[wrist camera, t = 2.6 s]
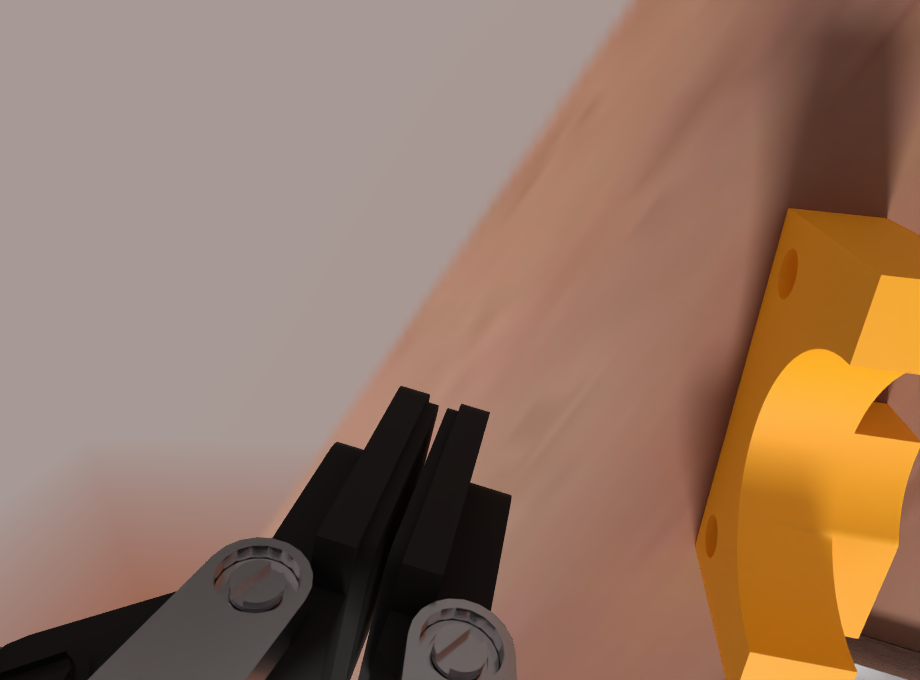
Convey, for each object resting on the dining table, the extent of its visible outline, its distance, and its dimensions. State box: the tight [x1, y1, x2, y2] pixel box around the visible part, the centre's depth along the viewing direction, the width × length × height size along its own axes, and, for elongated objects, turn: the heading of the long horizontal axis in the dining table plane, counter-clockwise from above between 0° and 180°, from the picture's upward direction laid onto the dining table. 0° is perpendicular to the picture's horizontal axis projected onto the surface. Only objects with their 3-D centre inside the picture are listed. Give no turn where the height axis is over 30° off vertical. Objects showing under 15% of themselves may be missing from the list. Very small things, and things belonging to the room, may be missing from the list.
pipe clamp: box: [695, 208, 920, 680], centre depth 18 cm, size 12×4×6 cm, turn 176°
